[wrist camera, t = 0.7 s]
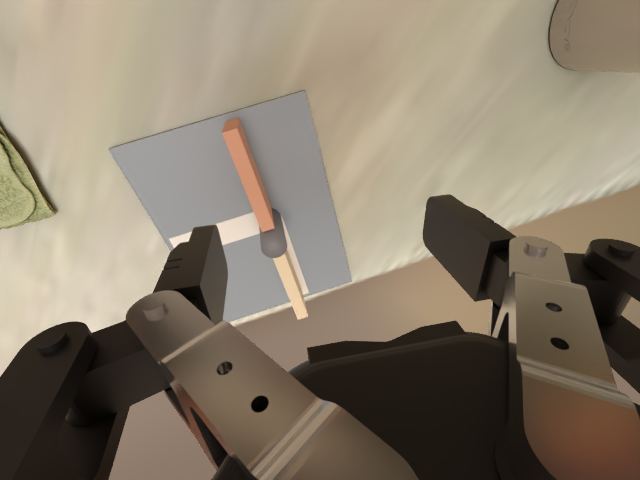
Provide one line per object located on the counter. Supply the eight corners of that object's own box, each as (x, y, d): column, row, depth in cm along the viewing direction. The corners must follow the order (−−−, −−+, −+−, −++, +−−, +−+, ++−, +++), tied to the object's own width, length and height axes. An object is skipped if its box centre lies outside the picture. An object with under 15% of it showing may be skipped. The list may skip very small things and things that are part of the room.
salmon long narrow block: (271, 206, 33) (274, 228, 28) (259, 209, 33) (261, 232, 28) (238, 117, 28) (237, 128, 24) (225, 121, 28) (221, 132, 24)
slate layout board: (304, 90, 29) (318, 97, 23) (351, 279, 41) (367, 313, 35) (110, 147, 28) (77, 170, 22) (217, 323, 40) (212, 365, 34)
